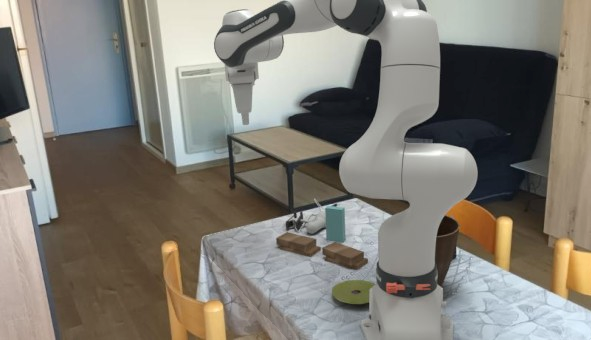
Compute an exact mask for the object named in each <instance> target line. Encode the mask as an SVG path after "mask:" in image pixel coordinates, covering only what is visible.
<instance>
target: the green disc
mask: <svg viewBox="0 0 591 340" xmlns="http://www.w3.org/2000/svg"><path fill="white" fill-rule="evenodd" d="M375 284H376V283H374V282H372V281H368V280H361V279H349V280H345V281H342V282H339V283H337V284H335V285H333V287H332V289H331V295H332V296H333V297H334V299H335V300H336V301H337V300H338V301H339V302H342V303H346V304H352V305H364V304H368V303H369V293H370V289H371V288H372V287H373V286H374V285H375Z"/></svg>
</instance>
